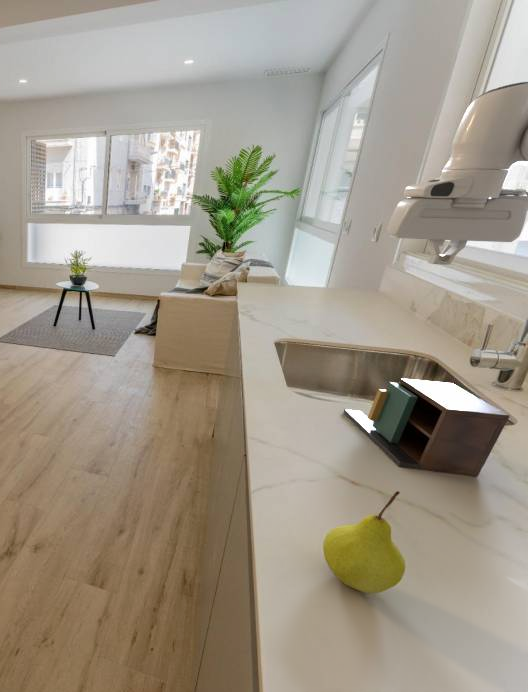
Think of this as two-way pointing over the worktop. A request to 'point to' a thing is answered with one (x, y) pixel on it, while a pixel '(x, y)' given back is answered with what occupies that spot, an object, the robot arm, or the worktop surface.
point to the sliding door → (392, 411)
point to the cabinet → (441, 429)
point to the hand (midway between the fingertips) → (438, 264)
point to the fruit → (365, 554)
